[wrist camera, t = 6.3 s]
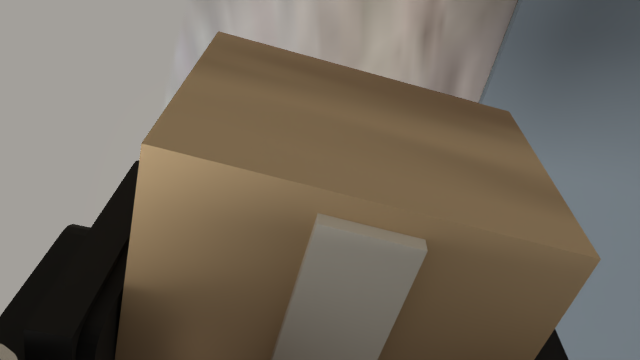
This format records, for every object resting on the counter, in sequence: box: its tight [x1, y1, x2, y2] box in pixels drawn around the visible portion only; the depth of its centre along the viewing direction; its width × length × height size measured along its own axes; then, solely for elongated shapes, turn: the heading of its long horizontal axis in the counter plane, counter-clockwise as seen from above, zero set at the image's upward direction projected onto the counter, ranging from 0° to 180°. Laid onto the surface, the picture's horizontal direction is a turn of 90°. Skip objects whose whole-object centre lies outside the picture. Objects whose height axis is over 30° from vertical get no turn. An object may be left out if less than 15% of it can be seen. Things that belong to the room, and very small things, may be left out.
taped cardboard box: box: [115, 31, 601, 360], centre depth 9 cm, size 7×5×4 cm
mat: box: [479, 0, 640, 360], centre depth 26 cm, size 22×16×1 cm
